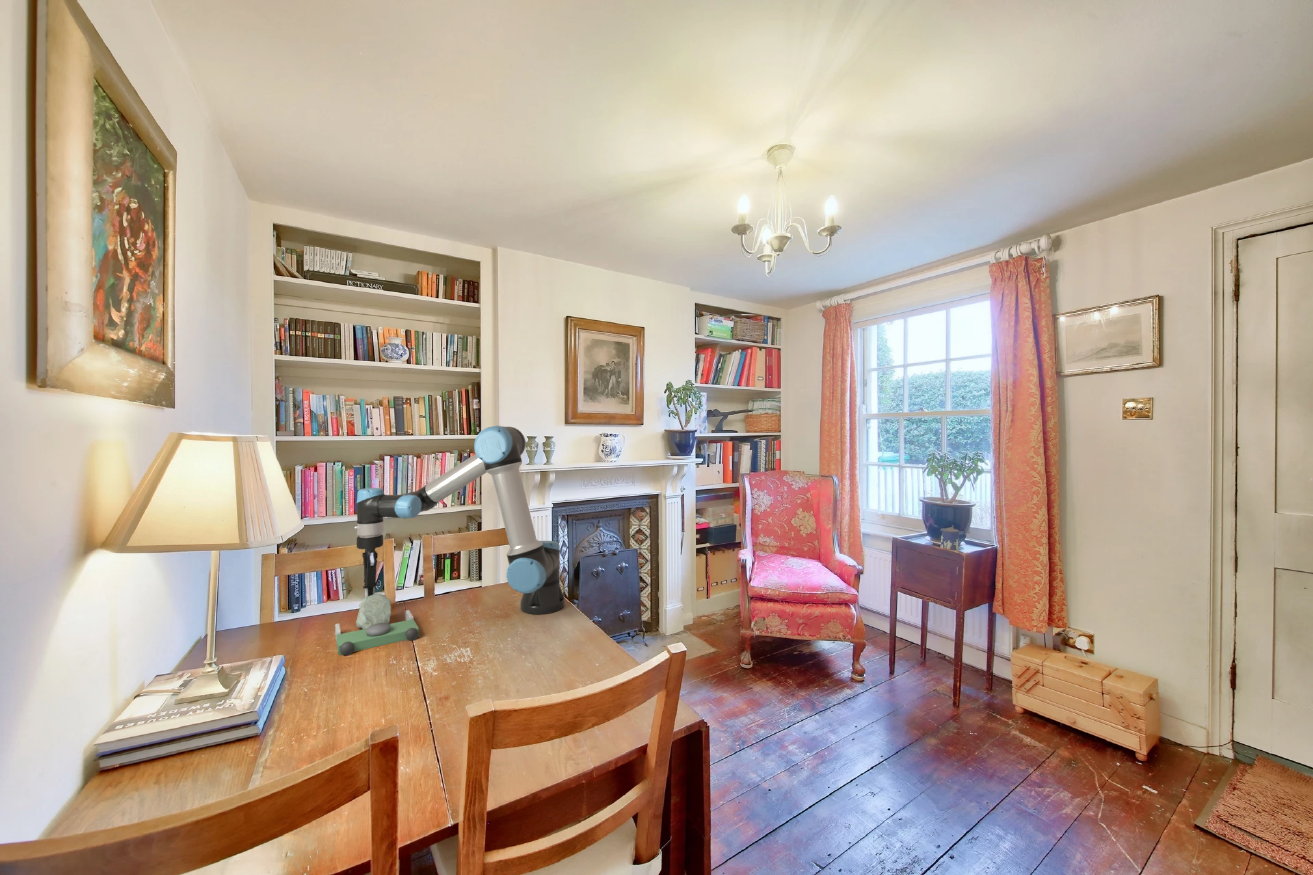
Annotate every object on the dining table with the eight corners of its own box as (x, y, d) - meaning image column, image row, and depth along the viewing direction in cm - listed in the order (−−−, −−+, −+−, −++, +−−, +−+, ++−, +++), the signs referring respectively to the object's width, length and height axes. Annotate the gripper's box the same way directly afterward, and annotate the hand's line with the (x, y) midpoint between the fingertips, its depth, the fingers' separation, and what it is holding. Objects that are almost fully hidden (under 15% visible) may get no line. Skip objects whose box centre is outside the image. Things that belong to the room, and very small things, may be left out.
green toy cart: (408, 618, 155) (408, 606, 155) (419, 638, 140) (419, 624, 140) (335, 633, 143) (335, 620, 143) (338, 657, 128) (338, 642, 128)
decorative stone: (361, 619, 154) (347, 602, 148) (396, 603, 158) (384, 585, 152) (364, 652, 145) (350, 634, 139) (402, 633, 149) (389, 616, 143)
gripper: (354, 533, 159) (354, 603, 159) (358, 540, 149) (358, 614, 149) (380, 530, 163) (379, 598, 164) (386, 537, 153) (385, 609, 153)
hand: (369, 606), depth 156 cm, fingers closed
